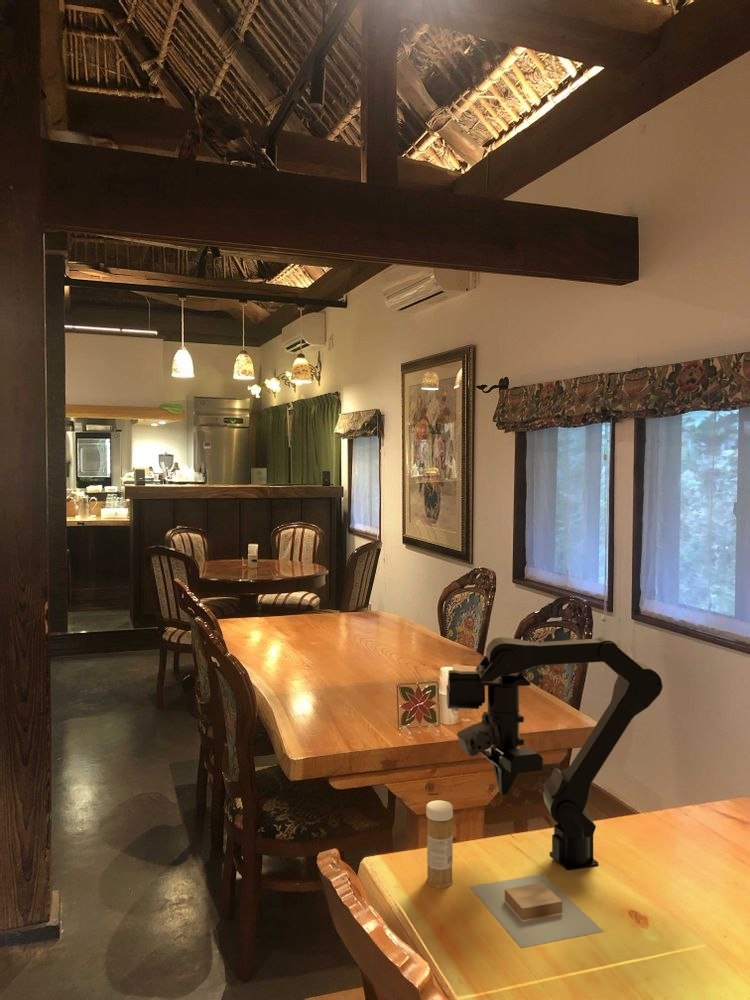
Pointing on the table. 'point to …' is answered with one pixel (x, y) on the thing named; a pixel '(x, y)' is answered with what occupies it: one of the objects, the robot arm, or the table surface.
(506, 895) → the walnut tile
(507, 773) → the robot arm
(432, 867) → the sprinkles bottle
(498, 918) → the slate mat
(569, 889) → the table surface
